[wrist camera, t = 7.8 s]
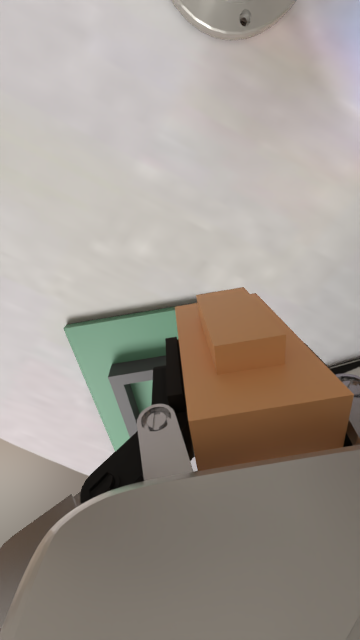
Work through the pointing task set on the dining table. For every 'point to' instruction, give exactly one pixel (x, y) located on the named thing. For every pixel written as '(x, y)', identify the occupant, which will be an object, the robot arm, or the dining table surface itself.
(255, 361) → the keyed plug
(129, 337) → the socket board
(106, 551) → the robot arm
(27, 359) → the dining table surface
